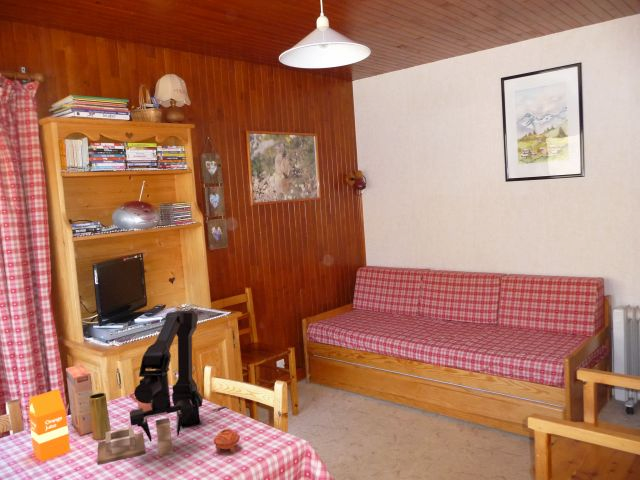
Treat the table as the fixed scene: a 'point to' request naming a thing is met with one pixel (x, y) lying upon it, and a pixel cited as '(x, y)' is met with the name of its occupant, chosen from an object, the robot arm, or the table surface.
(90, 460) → the table surface
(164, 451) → the peg
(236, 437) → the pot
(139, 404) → the teapot
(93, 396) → the vase
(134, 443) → the well
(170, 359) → the robot arm
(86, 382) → the cracker box
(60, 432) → the orange juice
